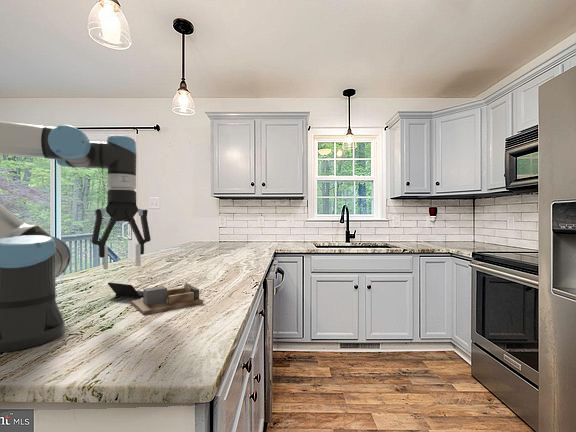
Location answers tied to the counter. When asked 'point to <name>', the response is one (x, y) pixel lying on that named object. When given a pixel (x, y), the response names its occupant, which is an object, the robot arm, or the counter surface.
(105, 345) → the counter surface
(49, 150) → the robot arm
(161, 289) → the plug block
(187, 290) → the header board
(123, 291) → the black angled piece
